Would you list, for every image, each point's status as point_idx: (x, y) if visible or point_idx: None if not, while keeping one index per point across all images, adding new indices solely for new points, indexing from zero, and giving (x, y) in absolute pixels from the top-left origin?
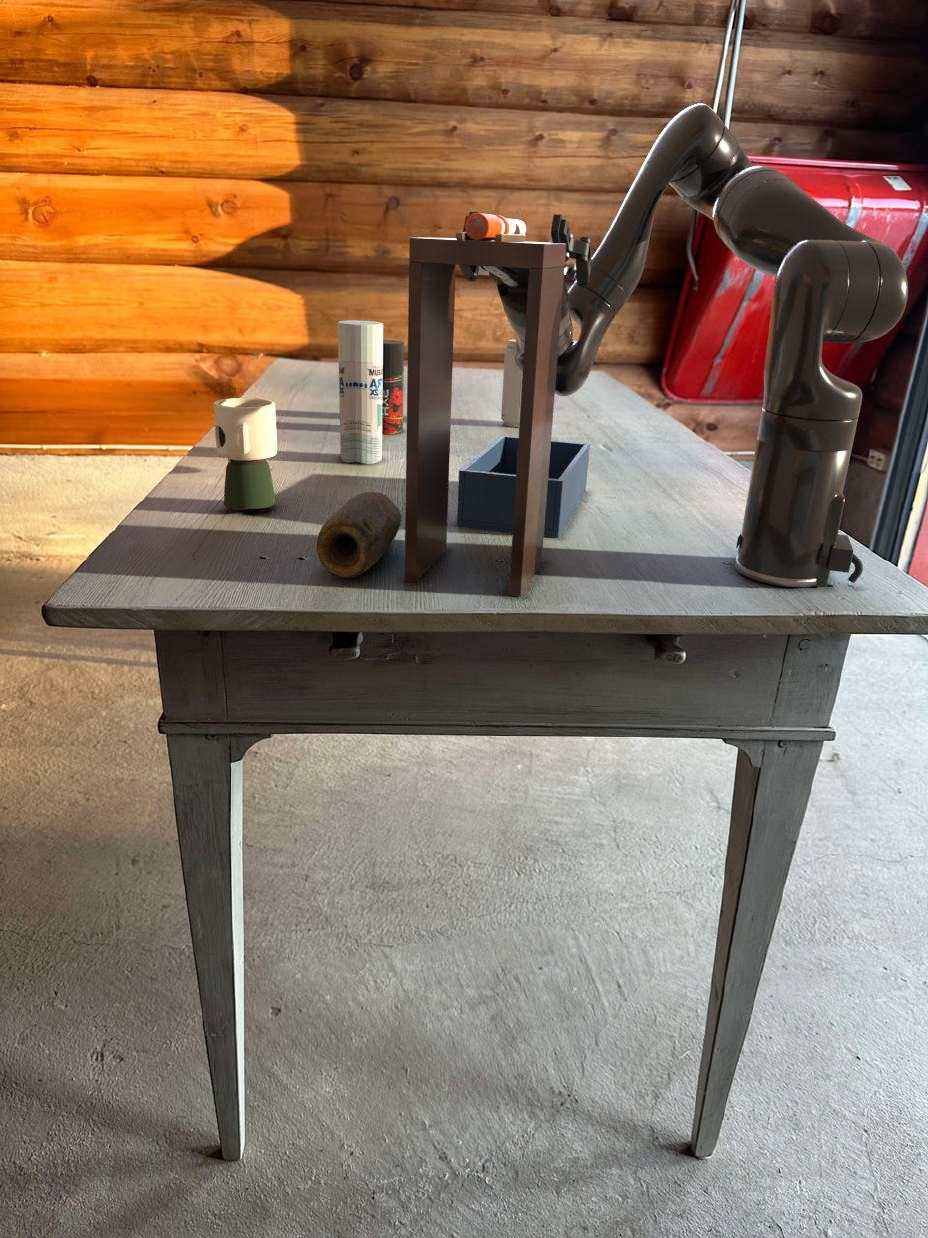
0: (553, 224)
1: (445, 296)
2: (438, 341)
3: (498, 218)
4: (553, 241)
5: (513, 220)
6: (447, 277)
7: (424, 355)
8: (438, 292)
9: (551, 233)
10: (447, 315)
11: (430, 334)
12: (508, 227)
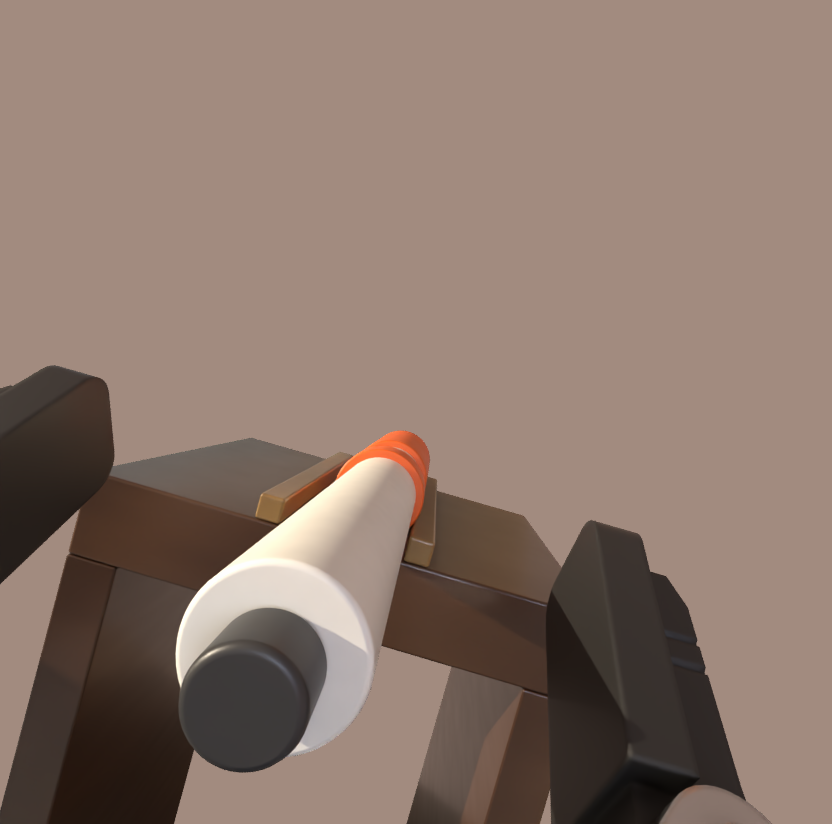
0: (105, 432)
1: (474, 733)
2: (436, 816)
3: (372, 444)
4: (44, 533)
5: (334, 487)
6: (492, 686)
7: (431, 754)
8: (473, 676)
9: (104, 478)
10: (457, 815)
11: (443, 740)
12: (339, 476)
